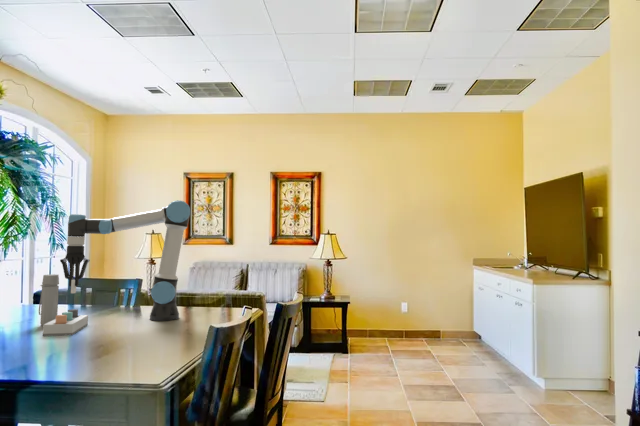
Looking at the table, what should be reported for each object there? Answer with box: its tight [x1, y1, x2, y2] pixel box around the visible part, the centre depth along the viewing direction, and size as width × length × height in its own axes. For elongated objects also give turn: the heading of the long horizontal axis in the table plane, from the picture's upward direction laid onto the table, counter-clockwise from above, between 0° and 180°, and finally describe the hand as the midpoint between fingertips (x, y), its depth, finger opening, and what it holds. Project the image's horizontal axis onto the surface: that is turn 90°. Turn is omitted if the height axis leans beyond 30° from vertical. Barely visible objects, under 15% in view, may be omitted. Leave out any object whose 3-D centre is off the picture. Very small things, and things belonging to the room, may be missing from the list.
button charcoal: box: [67, 308, 79, 318], centre depth 212 cm, size 4×4×5 cm
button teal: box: [61, 311, 73, 321], centre depth 204 cm, size 4×4×5 cm
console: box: [42, 314, 89, 337], centre depth 204 cm, size 12×22×5 cm, turn 12°
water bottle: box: [38, 273, 60, 327], centre depth 216 cm, size 9×8×25 cm
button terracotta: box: [55, 314, 67, 324], centre depth 197 cm, size 4×4×5 cm
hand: (73, 292), depth 212 cm, fingers closed
